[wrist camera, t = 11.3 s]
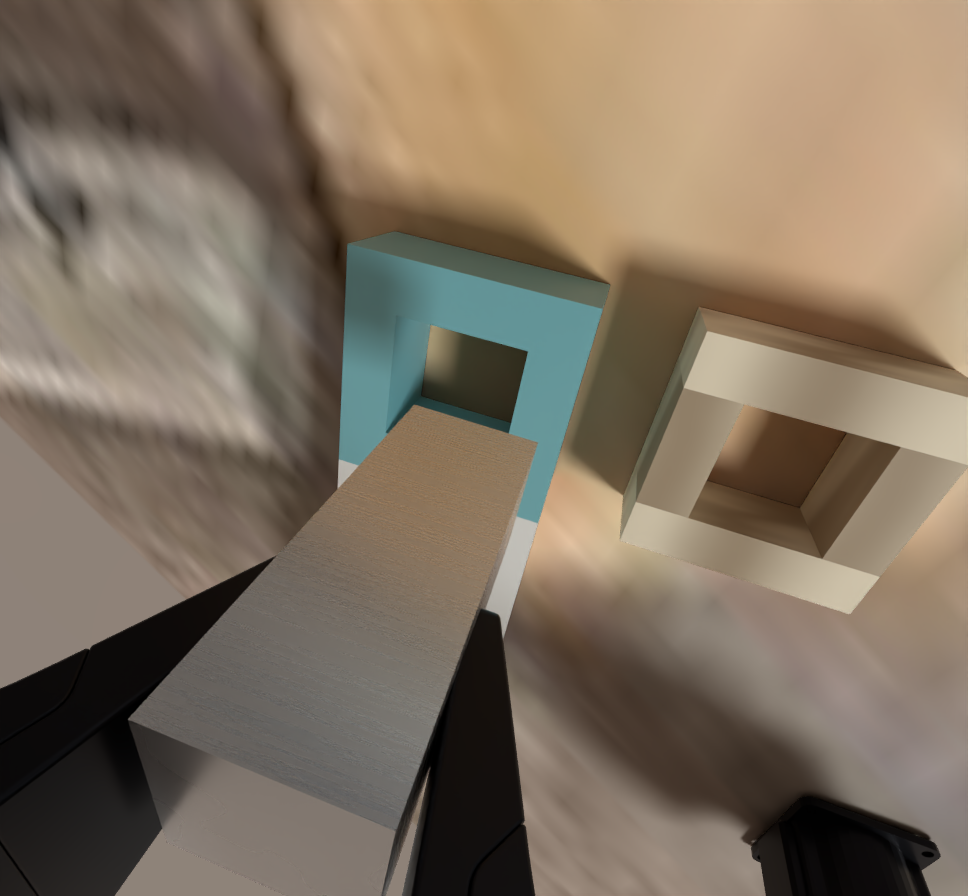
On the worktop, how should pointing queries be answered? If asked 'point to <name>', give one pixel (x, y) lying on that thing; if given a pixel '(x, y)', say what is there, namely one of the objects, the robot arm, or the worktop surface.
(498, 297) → the dock
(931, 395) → the frame
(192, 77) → the worktop surface
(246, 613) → the pin
